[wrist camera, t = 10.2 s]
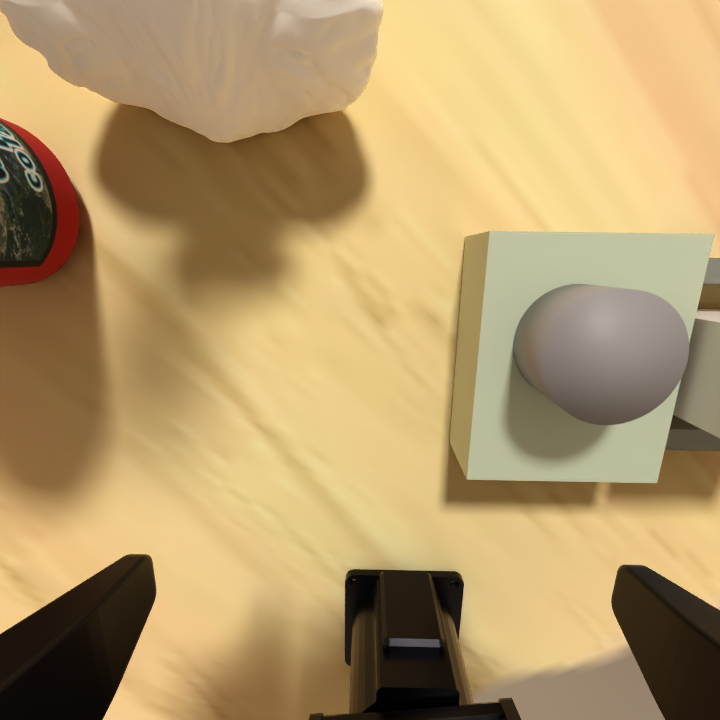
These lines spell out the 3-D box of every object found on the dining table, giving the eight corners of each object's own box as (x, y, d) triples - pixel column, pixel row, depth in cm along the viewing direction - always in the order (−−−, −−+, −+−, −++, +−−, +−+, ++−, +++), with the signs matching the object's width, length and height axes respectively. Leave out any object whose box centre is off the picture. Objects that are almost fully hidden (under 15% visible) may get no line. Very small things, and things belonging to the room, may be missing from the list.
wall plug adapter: (725, 446, 20) (887, 531, 14) (449, 442, 20) (486, 523, 14) (782, 240, 17) (1012, 230, 11) (465, 236, 17) (520, 224, 11)
